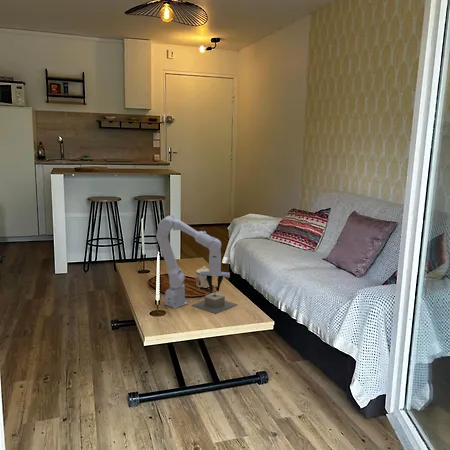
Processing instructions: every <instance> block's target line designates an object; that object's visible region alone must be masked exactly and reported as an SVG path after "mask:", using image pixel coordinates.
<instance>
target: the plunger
mask: <svg viewBox="0 0 450 450" xmlns="http://www.w3.org/2000/svg"><path fill="white" fill-rule="evenodd" d="M217 288H218V285H212V291H211V292H212V293H214V294H213V296H214V297H215V296H216V293H217V292H218V291H217Z"/></svg>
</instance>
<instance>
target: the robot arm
mask: <svg viewBox="0 0 450 450" xmlns="http://www.w3.org/2000/svg"><path fill="white" fill-rule="evenodd" d="M171 231H181V232H183V233H185V234H187V235H189V236H190V237H193V238H194V240H195V242H196V243H198V244H200V245H202V246H203V247H205V248H207V249H208V250H209V254H208V269H209V271H205V272H200V276H206V280H207V282H208V284H209V287H210V288H209V290H210V292H213V291H212V286H213V277H214V278H215V277H216V278H217V287H218V288H217V291H216V292H220V288H221V283H222V282H223V279H224V278H230V277H231V276H230V275H231V274H230V273H231V272H228V271H227V272H225V271H221V270H222V269H221V268H222V253H221V250H222V249H221V248H222V241H221V240H220V239H219V238H216V237H214V236H211V235H209V234H207V231H205V230H204V231H203V230H200V231H197V230H196V229H195V228H193V227H192V226H190V225H188V224H186V223H185V222H183V221H182V220H181V219H179V218H177V217H174V216H173V215H167V216H165V217H164V218H163V219H161V220H160V221H159V223H158V225H157V230H156V240H157V243H158V246H159V248H160V250H161V251H160V252H161V254H162V256H163V260H164V262H165V265H166V267H167V270H168V278H169V280H168V281H169V285H170V286H169V288H168V289H166V290H165V292H164V299H165V300H164V303H163V305H165V306H168V307H170V308H173V309H177V308H179V307H182V306H185V305H188V304H189V302H188V301H186V299H185V298H186V297H185V295H186V293H185V292H186V291H185V289H186V287H185V284H184V282H185V280H186V275H185V273H184V272H183V271H182V269H181V268H180V266H179V265H178V262H177V259H176V256H175V254H174V251H173V248H172V245H171V243H170V240H169V238H168V235H169V234H170V232H171Z"/></svg>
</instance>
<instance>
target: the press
mask: <svg viewBox="0 0 450 450" xmlns="http://www.w3.org/2000/svg"><path fill="white" fill-rule="evenodd" d="M213 294H214V292H212V293H209V294H206V295H204V300H202V301H198V302H197V303H194V304H191V306H192V307H195V308H197V309H200V310H203V311H206V312H209V313H212V314H215V315H216V314H219V313H222V312H223V311H226V310H229V309H232V308H233V307H236V306H238V304H237V303H234V302H231V301H228V300H225V299H226V297H225V296H226V295H224V294H220V293H219V292H218V293H217V292H216V296H215V297H214V296H213Z"/></svg>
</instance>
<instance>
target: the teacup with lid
mask: <svg viewBox="0 0 450 450" xmlns="http://www.w3.org/2000/svg"><path fill="white" fill-rule="evenodd" d="M205 271H209V268H207V266H202V267H201V268H198V269H197V270H195V275H196V276H195V279H196V280H195V285H196V286H198V287H204V288H207V287H209V284H208V282H207V280H206V276H200V272H205ZM196 286H195V287H196Z"/></svg>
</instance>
